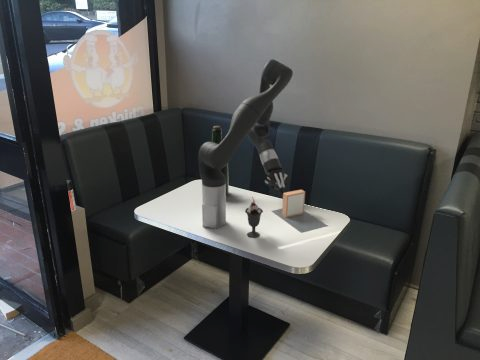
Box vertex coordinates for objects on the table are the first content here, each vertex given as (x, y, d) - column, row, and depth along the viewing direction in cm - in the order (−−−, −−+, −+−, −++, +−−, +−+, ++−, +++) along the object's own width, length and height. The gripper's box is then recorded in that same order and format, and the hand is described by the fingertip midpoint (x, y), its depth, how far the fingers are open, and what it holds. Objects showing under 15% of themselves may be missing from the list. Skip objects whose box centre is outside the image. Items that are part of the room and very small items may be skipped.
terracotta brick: (282, 215, 166) (283, 193, 163) (299, 211, 170) (301, 189, 167) (285, 217, 164) (287, 195, 160) (303, 213, 168) (305, 191, 164)
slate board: (327, 227, 158) (328, 225, 157) (301, 234, 152) (301, 232, 152) (296, 207, 176) (296, 205, 176) (271, 212, 170) (271, 211, 170)
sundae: (251, 229, 156) (252, 193, 151) (265, 234, 152) (266, 198, 147) (241, 235, 151) (241, 199, 146) (255, 240, 147) (256, 203, 142)
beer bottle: (203, 192, 191) (201, 125, 180) (222, 188, 196) (222, 122, 184) (211, 200, 182) (210, 129, 171) (232, 196, 187) (232, 127, 175)
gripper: (279, 163, 183) (293, 197, 177) (254, 167, 177) (268, 202, 171) (286, 155, 177) (301, 190, 171) (260, 159, 171) (275, 195, 165)
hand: (284, 196), depth 171 cm, fingers closed
